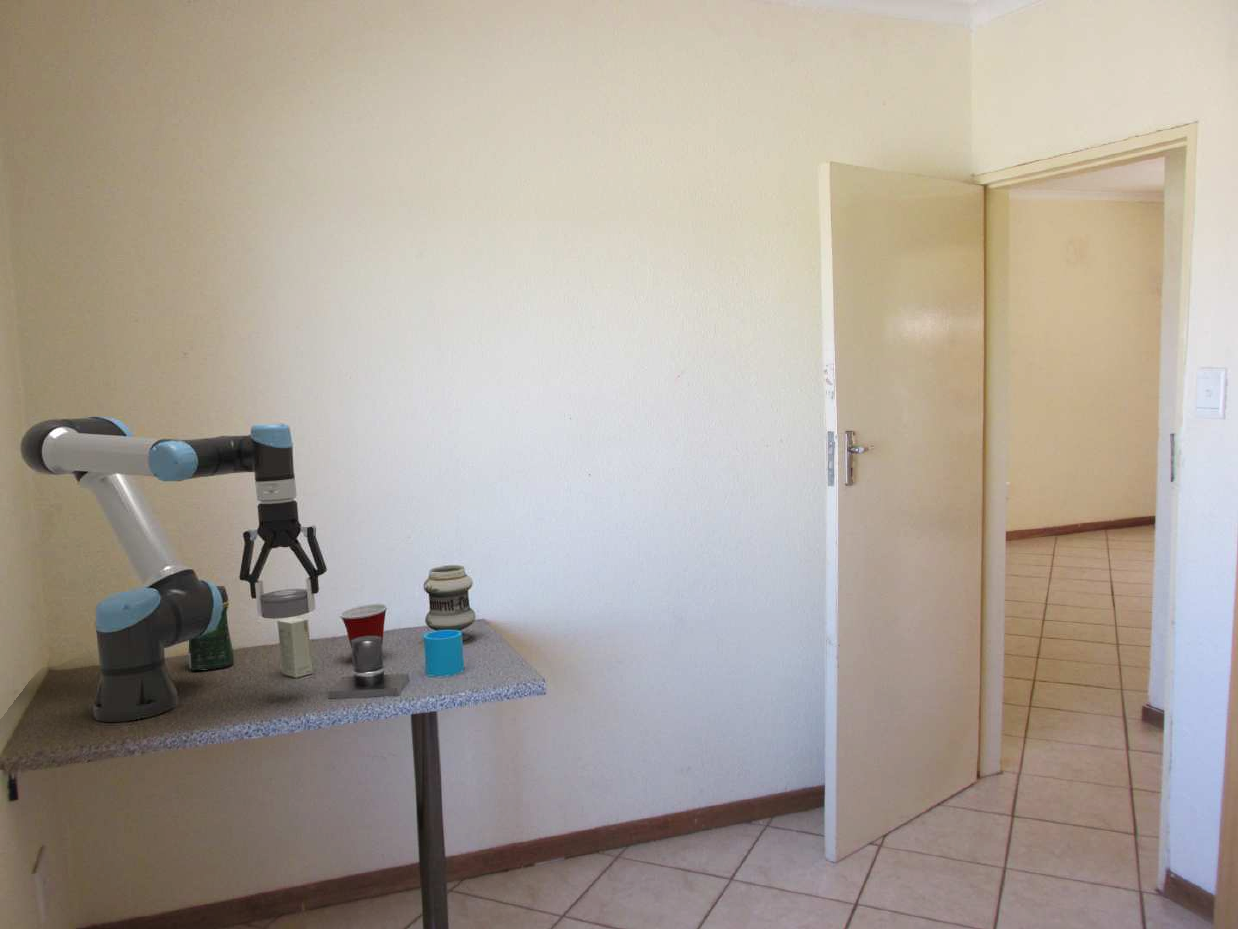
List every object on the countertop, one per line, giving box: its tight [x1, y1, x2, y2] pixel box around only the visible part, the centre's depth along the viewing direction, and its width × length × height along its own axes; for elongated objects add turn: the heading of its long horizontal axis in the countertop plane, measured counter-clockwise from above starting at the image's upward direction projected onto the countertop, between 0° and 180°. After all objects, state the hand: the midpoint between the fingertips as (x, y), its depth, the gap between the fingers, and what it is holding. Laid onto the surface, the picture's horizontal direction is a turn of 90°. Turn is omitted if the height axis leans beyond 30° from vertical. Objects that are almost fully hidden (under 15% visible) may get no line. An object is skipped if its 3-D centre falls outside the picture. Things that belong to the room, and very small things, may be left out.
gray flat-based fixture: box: [327, 636, 410, 699], centre depth 201 cm, size 14×10×10 cm
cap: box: [261, 588, 311, 620], centre depth 196 cm, size 9×9×4 cm
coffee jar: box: [188, 585, 235, 671], centre depth 224 cm, size 10×8×19 cm
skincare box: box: [277, 616, 314, 678], centre depth 215 cm, size 6×4×12 cm
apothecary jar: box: [423, 564, 477, 645], centre depth 237 cm, size 12×12×18 cm
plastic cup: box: [339, 603, 388, 649], centre depth 224 cm, size 11×11×12 cm
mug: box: [423, 630, 465, 677], centre depth 213 cm, size 12×8×8 cm
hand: (286, 611), depth 196 cm, fingers closed on cap, 9 cm apart
